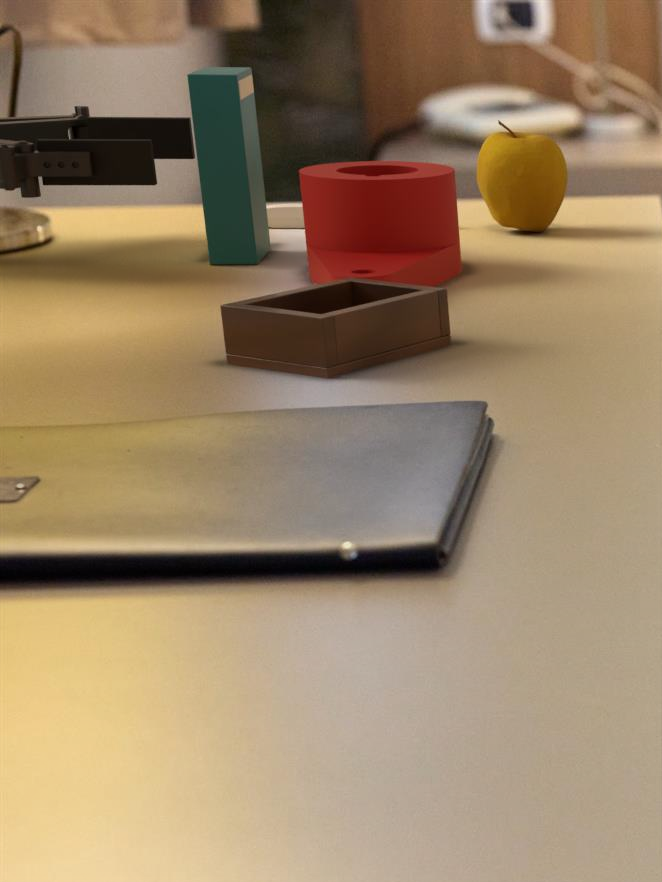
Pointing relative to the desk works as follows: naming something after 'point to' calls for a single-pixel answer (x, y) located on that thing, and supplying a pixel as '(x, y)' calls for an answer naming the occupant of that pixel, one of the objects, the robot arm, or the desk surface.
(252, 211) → the box
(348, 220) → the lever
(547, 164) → the apple
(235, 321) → the box
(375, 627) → the desk surface
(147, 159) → the robot arm
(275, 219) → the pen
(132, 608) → the desk surface
